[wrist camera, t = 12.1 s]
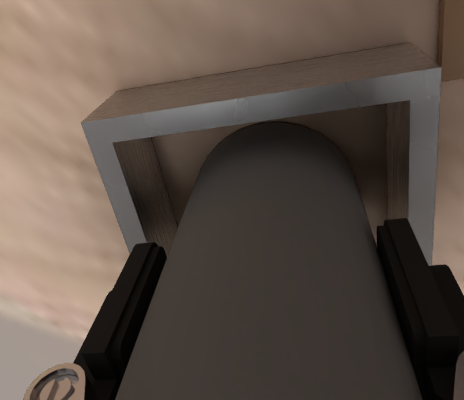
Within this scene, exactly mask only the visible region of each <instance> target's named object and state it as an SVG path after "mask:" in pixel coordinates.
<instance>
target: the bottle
mask: <svg viewBox="0 0 464 400" xmlns="http://www.w3.org/2000/svg"><path fill="white" fill-rule="evenodd" d="M115 400H423V399H422V395H421V392H420V389H419V385H418V382H417V379H416V376H415V372H414V369H413V366H412V362H411V359H410V356H409V352H408V349H407V346H406V342H405V339H404V336H403V332H402V329H401V326H400V322H399V319H398V316H397V312H396V309H395V306H394V302H393V299H392V296H391V292H390V289H389V286H388V282H387V279H386V276H385V273H384V269H383V266H382V263H381V260H380V256H379V253H378V250H377V247H376V243H375V240H374V237H373V234H372V231H371V227H370V224H369V221H368V218H367V215H366V211H365V208H364V205H363V202H362V199H361V195H360V192H359V189H358V186H357V183H356V180H355V177H354V175H353V172H352V170H351V168H350V166H349V164H348V162H347V160H346V158H345V157H344V155H343V154H342V153H341V152H340V150H339V149H338V148H337V147H336V146H335V145H334V144H333V143H332V142H330V141H329V140H328V139H327V138H325V137H324V136H322V135H321V134H319V133H317V132H315V131H313V130H310V129H308V128H305V127H302V126H299V125H294V124H288V123H282V122H276V123H262V124H257V125H252V126H249V127H246V128H243V129H241V130H238V131H237V132H235V133H233V134H232V135H230V136H228V137H227V138H225V139H224V140H222V141H221V142H220V143H219V144H218V145H217V146H216V147H215V148H214V149H213V151H212V152H211V153H210V154H209V155H208V157H207V158H206V160H205V162H204V164H203V166H202V168H201V170H200V172H199V175H198V177H197V180H196V182H195V185H194V187H193V190H192V192H191V195H190V197H189V200H188V203H187V205H186V208H185V210H184V213H183V216H182V219H181V221H180V224H179V227H178V229H177V232H176V235H175V238H174V240H173V243H172V246H171V248H170V251H169V254H168V257H167V259H166V262H165V265H164V267H163V270H162V273H161V276H160V278H159V281H158V284H157V286H156V289H155V292H154V295H153V297H152V300H151V303H150V305H149V308H148V311H147V314H146V316H145V319H144V322H143V324H142V327H141V330H140V333H139V335H138V338H137V341H136V343H135V346H134V349H133V352H132V354H131V357H130V360H129V362H128V365H127V368H126V371H125V373H124V376H123V379H122V382H121V385H120V388H119V390H118V393H117V396H116V399H115Z"/></svg>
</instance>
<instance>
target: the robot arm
mask: <svg viewBox="0 0 464 400" xmlns="http://www.w3.org/2000/svg"><path fill="white" fill-rule="evenodd" d="M377 250H378V253H379V256H380V260H381V263H382V266H383V269H384V273H385V276H386V279H387V282H388V286H389V289H390V292H391V296H392V299H393V302H394V306H395V309H396V312H397V316H398V319H399V322H400V326H401V329H402V332H403V336H404V339H405V342H406V346H407V349H408V352H409V356H410V359H411V362H412V366H413V369H414V372H415V376H416V379H417V382H418V385H419V389H420V392H421V395H422V399H423V400H464V295H463V293H462V291H461V289H460V287H459V286H458V284H457V282H456V280H455V278H454V276H453V274H452V272H451V270H450V268H449V267H448V266H447V265H433V266H429V265H428V263H427V261H426V259H425V256H424V254H423V252H422V250H421V248H420V245H419V243H418V241H417V239H416V236H415V234H414V232H413V230H412V227H411V225H410V223H409V221H408V219H407V218H399V219H388V220H385V221H384V225H382V226H377ZM166 259H167V256H166V253H165V250H164V248H163V247H162V246H159V247H158V245H157V243H155V242H149V243H139V244H135V246H134V247H133V249H132V252H131V254H130V256H129V258H128V260H127V262H126V264H125V266H124V268H123V270H122V272H121V274H120V276H119V278H118V280H117V282H116V284H115V286H114V288H113V290H112V291H110V292H109V294H108V295H107V297H106V299H105V301H104V303H103V305H102V307H101V309H100V311H99V313H98V315H97V317H96V319H95V321H94V323H93V325H92V327H91V329H90V331H89V333H88V335H87V337H86V339H85V341H84V343H83V345H82V347H81V349H80V351H79V353H78V355H77V357H76V359H75V361H74V363H64V364H59V365H56V366H54V367H52V368H49V369H48V370H46V371H45V372H43V373H42V374H40V375H39V376H38V377H37V378H36V379H35V380H34V381H33V382H32V383H31V384H30V386H29V387H28V389H27V390H26V393H25V395H24V398H23V400H115V399H116V396H117V393H118V390H119V388H120V385H121V382H122V379H123V376H124V373H125V371H126V368H127V365H128V362H129V360H130V357H131V354H132V352H133V349H134V346H135V343H136V341H137V338H138V335H139V333H140V330H141V327H142V324H143V322H144V319H145V316H146V314H147V311H148V308H149V305H150V303H151V300H152V297H153V295H154V292H155V289H156V286H157V284H158V281H159V278H160V276H161V273H162V270H163V267H164V265H165V262H166Z"/></svg>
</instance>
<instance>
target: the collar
mask: <svg viewBox="0 0 464 400" xmlns="http://www.w3.org/2000/svg"><path fill="white" fill-rule="evenodd" d="M440 88H441V66H439V65H438V64H437V63H435V62H434V61H433V60H432V59H430V58H429V57H428V56H427V55H425V54H424V53H423V52H421V51H420V50H419V49H418V48H416V47H415V46H414V45H413V44H411V43H404V44H398V45H392V46H386V47H380V48H374V49H368V50H362V51H356V52H350V53H344V54H338V55H332V56H326V57H320V58H314V59H308V60H302V61H296V62H290V63H284V64H278V65H272V66H265V67H259V68H253V69H247V70H241V71H235V72H229V73H223V74H217V75H211V76H205V77H199V78H193V79H187V80H181V81H175V82H169V83H163V84H157V85H151V86H145V87H139V88H133V89H126V90H120V91H116V92H115V93H114V94H113V95H112V96H110V97H109V98H108V99H107V100H106V101H105V102H104V103H102V104H101V105H100V106H99V107H98V108H97V109H96V110H95V111H93V112H92V113H91V114H90V115H89V116H88V117H87V118H86V119H84V120H83V121H82V122H81V125H82V127H83V130H84V133H85V135H86V138H87V141H88V143H89V146H90V149H91V151H92V154H93V157H94V159H95V162H96V165H97V167H98V170H99V173H100V175H101V178H102V181H103V183H104V186H105V189H106V191H107V194H108V197H109V199H110V202H111V205H112V207H113V210H114V213H115V215H116V218H117V221H118V223H119V226H120V229H121V231H122V234H123V237H124V239H125V242H126V245H127V247H128V250H129V253H130V254H131V252H132V249H133V247H134V246H135V244H139V243H149V242H155V243H157V245H158V247H159V246H162V247H163V248H164V250H165V253H166V256H167V257H168V254H169V251H170V248H171V246H172V243H173V240H174V238H175V235H176V232H177V229H178V228H177V224H176V221H175V218H174V214H173V211H172V208H171V204H170V201H169V197H168V194H167V191H166V187H165V184H164V181H163V177H162V174H161V171H160V167H159V164H158V160H157V157H156V154H155V150H154V147H153V144H152V140H151V137H155V136H162V135H169V134H176V133H183V132H190V131H197V130H204V129H211V128H218V127H225V126H232V125H239V124H246V123H253V122H260V121H267V120H274V119H281V118H288V117H295V116H302V115H309V114H316V113H323V112H330V111H337V110H344V109H351V108H358V107H365V106H372V105H379V104H386V117H387V196H388V219H399V218H407V219H408V221H409V223H410V225H411V227H412V230H413V232H414V234H415V236H416V239H417V241H418V243H419V245H420V248H421V250H422V252H423V254H424V256H425V259H426V261H427V263H428V265H429V266H432V251H433V230H434V210H435V190H436V169H437V149H438V128H439V108H440Z"/></svg>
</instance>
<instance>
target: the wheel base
mask: <svg viewBox="0 0 464 400" xmlns="http://www.w3.org/2000/svg"><path fill="white" fill-rule="evenodd" d="M438 65H439V66H441V82H443V81H450V80H457V79H463V78H464V0H440V20H439V42H438Z"/></svg>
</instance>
